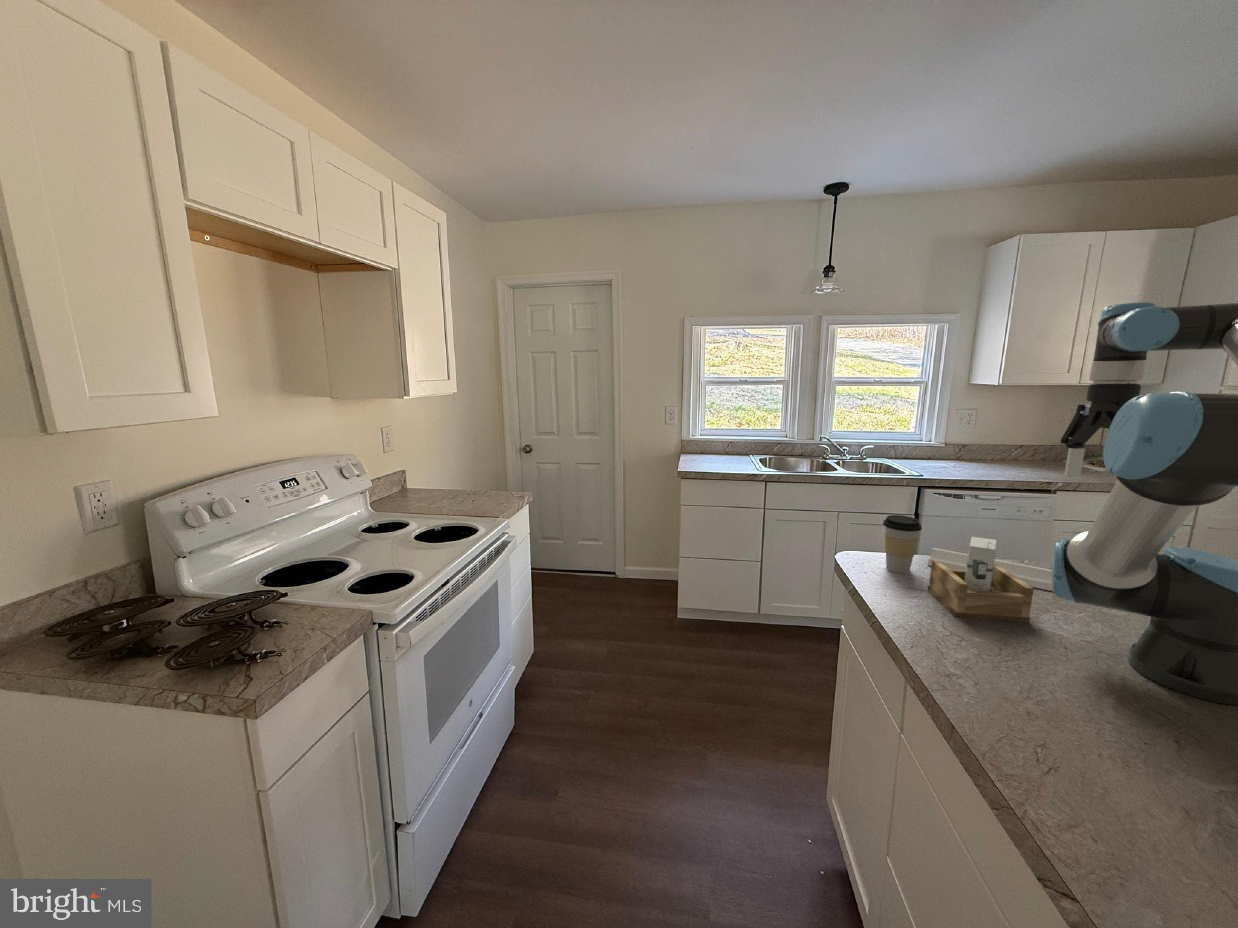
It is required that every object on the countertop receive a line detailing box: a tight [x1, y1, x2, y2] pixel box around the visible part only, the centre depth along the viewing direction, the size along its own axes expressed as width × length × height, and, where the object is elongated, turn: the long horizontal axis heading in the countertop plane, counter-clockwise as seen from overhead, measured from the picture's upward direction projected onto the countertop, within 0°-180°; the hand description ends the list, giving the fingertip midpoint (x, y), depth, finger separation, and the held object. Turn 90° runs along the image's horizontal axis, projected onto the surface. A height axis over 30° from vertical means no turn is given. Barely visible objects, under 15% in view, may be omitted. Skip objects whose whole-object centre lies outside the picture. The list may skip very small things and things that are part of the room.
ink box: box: [965, 536, 997, 591], centre depth 111 cm, size 9×5×12 cm, turn 141°
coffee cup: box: [882, 514, 923, 574], centre depth 133 cm, size 9×9×15 cm
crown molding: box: [927, 547, 1053, 592], centre depth 131 cm, size 31×12×4 cm, turn 50°
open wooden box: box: [927, 560, 1035, 624], centre depth 112 cm, size 14×15×8 cm
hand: (1096, 483), depth 100 cm, fingers open, 13 cm apart
